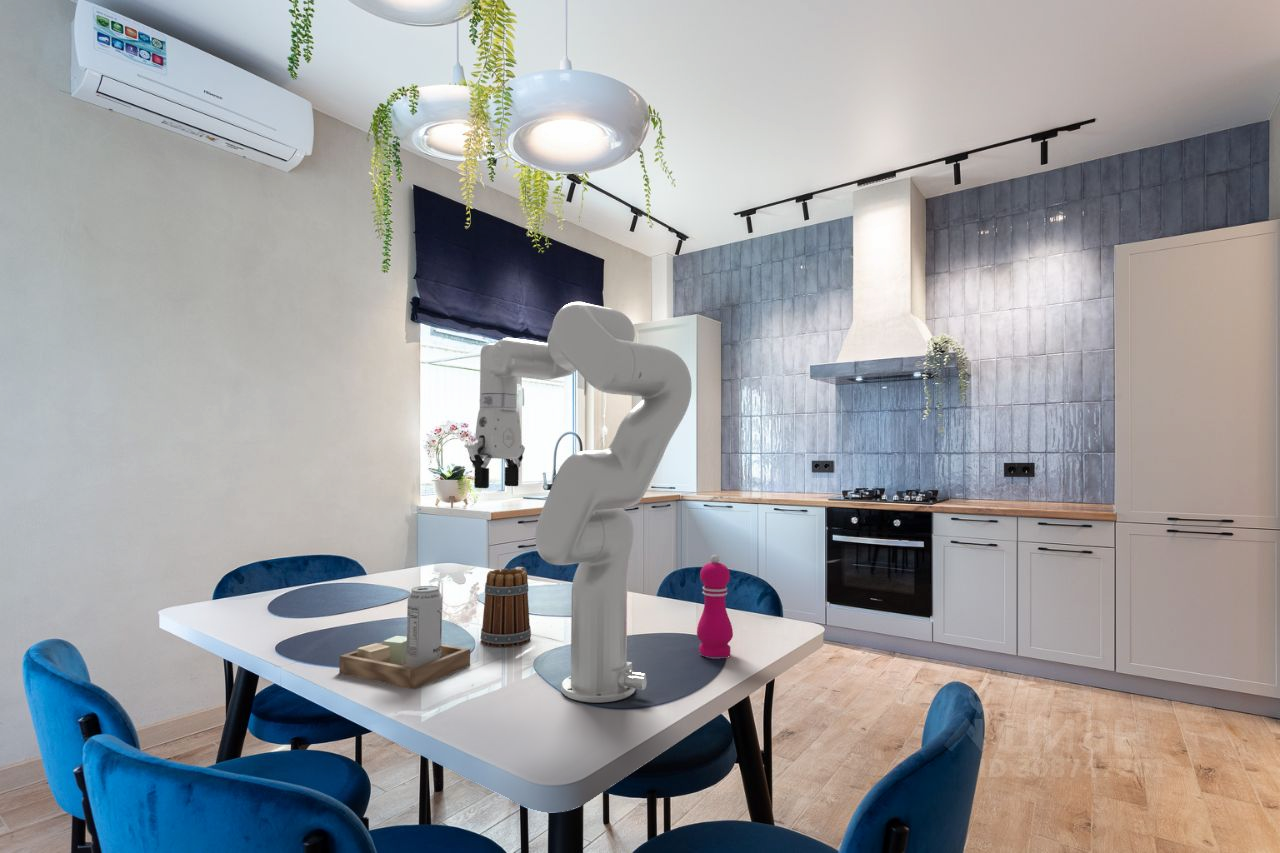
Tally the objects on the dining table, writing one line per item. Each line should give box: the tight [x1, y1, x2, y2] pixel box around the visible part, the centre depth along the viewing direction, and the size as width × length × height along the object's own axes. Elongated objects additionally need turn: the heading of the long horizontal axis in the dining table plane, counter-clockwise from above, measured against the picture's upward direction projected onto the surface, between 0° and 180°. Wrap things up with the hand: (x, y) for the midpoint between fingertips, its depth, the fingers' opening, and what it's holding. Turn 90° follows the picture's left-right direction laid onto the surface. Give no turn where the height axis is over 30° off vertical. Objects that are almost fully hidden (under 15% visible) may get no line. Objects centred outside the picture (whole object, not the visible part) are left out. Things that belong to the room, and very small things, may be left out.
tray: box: [338, 641, 471, 690], centre depth 121 cm, size 18×14×4 cm
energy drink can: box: [406, 585, 443, 668], centre depth 120 cm, size 6×6×15 cm
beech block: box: [356, 642, 390, 663], centre depth 121 cm, size 4×4×4 cm
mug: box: [480, 566, 532, 648], centre depth 143 cm, size 16×11×15 cm
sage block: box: [382, 635, 407, 665], centre depth 126 cm, size 4×4×4 cm
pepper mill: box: [696, 554, 734, 658], centre depth 134 cm, size 7×7×20 cm
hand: (497, 486), depth 136 cm, fingers open, 9 cm apart
